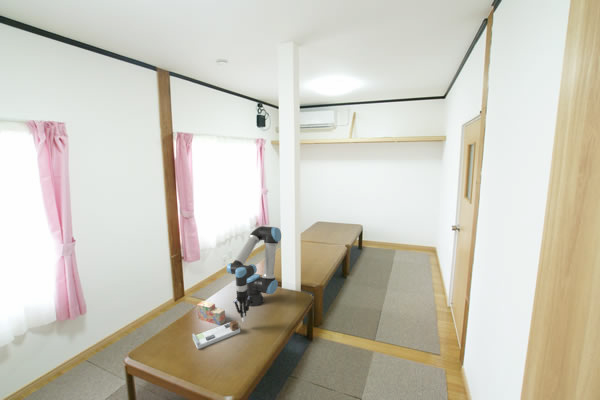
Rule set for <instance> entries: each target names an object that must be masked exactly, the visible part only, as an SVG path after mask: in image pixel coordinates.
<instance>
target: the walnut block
mask: <svg viewBox="0 0 600 400" xmlns="http://www.w3.org/2000/svg"><path fill="white" fill-rule="evenodd" d="M229 323H230V329H231V330H232V331H234V330H237V329H239V328H240V327H239V322H238V321H237V320H236V319H235V320H232V321H229ZM238 327H239V328H238Z"/></svg>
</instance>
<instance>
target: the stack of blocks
mask: <svg viewBox="0 0 600 400" xmlns="http://www.w3.org/2000/svg"><path fill="white" fill-rule="evenodd" d="M196 309H197V318H198V320H200V321H204V322H208V323H211V324H214V325H218V326H222V325H223V323H224V322H226V311H225V309H222V308H219V307H216V304H215V303H214V302H209V301H206V300H202V301H200V302H199V303H197V304H196Z"/></svg>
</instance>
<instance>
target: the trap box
mask: <svg viewBox="0 0 600 400" xmlns="http://www.w3.org/2000/svg"><path fill="white" fill-rule="evenodd" d="M238 328H239V329H237V330H234V331H232V330H231V329H230V322H227V323H225V324H221V325H218V326H217V327H214V328H212V329H209V330H206V331H203V332H200V333H198V334H195V333H194V332H193V333H192V341H193V342H194V343H193V344H194V345H195V346H196V349H197V350H200V349H203V348H205V347H208V346H210V345H212V344H215V343H217V342H220V341H222V340H225V339H227V338H230V337H232V336H234V335H237V334H240V333H241V328H240V327H239V326H238Z"/></svg>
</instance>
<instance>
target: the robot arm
mask: <svg viewBox="0 0 600 400" xmlns="http://www.w3.org/2000/svg"><path fill="white" fill-rule="evenodd" d="M281 239H282V231H281V229H280V228H279V227H278V226H277V227H275V226H265V225H262V226H258V227H257V228H255V229H254V230H252V232H251V233H250V234H249V236H248V239H247V240H246V243H245V244H244V245H243V247H242V249H241V250H240V252H239V253H238V255H237V256H236V258H235V259H234V261H233V262H230V263H228V264H227V266H226V272H227V273H228V274H230V275H235V276H234V277H235V286H236V298H235V300H234V301H233V302H232V303H234V305H235V308H236V312H237V313H238V314H240V316H239V317H241V321H242V322H243V323H246V317H247V312H248V311H249V310H250V307H257V306H260V305H262V304H263V302H264V296H263V294H267V295H273V294H274V293H276V291H277V289H278V284H279V283H278V280H277V279H276V275H275V265H276V264H275V263H276V253H277V251H276V249H277V245H279V242H281ZM261 241H263V244H264V245H265V248H264V261H263V262H264V263H263V264H264V265H263V273H262V274H261V275H260V274H259V273H257V271H258V268H257V266H256V265H255V264H253V263H251V264H248V265H245V263H246V262H247V259H248V258H249V257H250V255H251V254H252V252H253V251H254V248H255V247H256V245H257V244H259V243H260V242H261ZM238 303H239V304H238Z"/></svg>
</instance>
